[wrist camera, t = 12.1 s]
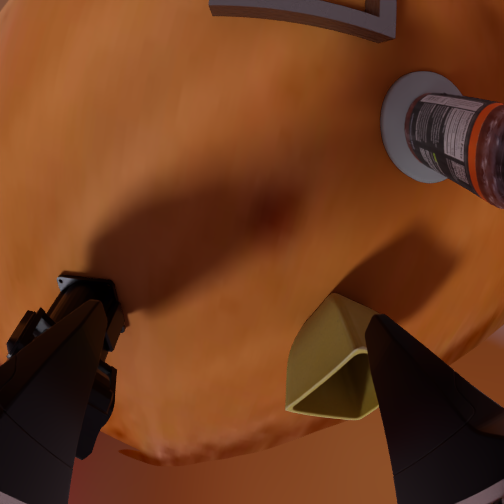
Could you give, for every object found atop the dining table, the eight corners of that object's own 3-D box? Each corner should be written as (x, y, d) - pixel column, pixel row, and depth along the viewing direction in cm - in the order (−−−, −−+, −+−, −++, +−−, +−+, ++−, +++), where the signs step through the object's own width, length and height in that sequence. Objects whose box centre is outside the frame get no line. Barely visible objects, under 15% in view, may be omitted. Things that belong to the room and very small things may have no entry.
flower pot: (273, 332, 27) (282, 412, 20) (326, 266, 24) (359, 348, 16) (339, 353, 30) (358, 421, 22) (391, 299, 26) (429, 367, 18)
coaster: (370, 169, 19) (375, 172, 19) (387, 55, 15) (392, 54, 14) (453, 188, 20) (458, 191, 19) (471, 93, 15) (477, 94, 15)
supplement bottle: (467, 119, 16) (576, 162, 6) (440, 178, 19) (540, 250, 9) (418, 75, 15) (543, 91, 5) (388, 142, 17) (504, 203, 8)
